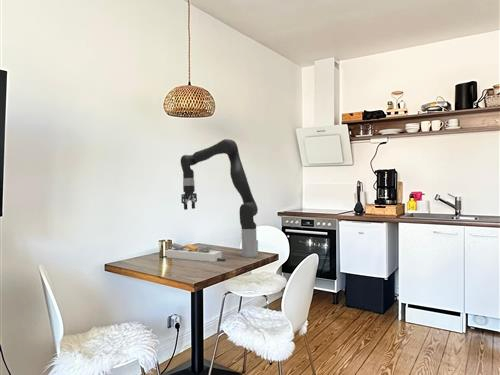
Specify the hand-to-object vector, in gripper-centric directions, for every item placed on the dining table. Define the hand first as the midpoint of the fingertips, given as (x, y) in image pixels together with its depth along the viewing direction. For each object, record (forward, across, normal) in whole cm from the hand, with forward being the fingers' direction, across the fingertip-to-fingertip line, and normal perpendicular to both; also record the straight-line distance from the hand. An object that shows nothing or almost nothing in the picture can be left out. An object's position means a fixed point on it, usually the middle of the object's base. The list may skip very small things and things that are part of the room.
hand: (189, 209), depth 243 cm
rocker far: (+23, -17, -2) cm, 29 cm away
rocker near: (+23, -17, -23) cm, 37 cm away
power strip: (+28, -17, -15) cm, 36 cm away
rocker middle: (+23, -17, -13) cm, 31 cm away
